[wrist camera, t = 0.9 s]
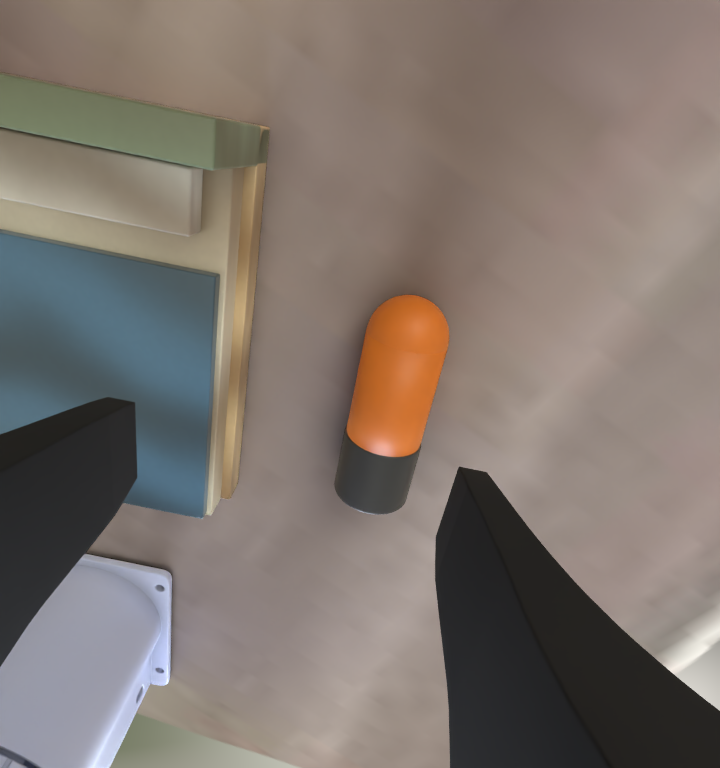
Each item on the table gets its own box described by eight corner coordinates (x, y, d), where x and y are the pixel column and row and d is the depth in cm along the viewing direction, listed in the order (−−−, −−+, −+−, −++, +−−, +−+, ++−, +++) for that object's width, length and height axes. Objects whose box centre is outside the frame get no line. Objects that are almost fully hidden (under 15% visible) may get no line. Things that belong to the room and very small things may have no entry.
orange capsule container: (404, 477, 22) (406, 523, 19) (337, 464, 22) (329, 509, 19) (455, 294, 18) (466, 319, 16) (374, 278, 18) (371, 300, 16)
